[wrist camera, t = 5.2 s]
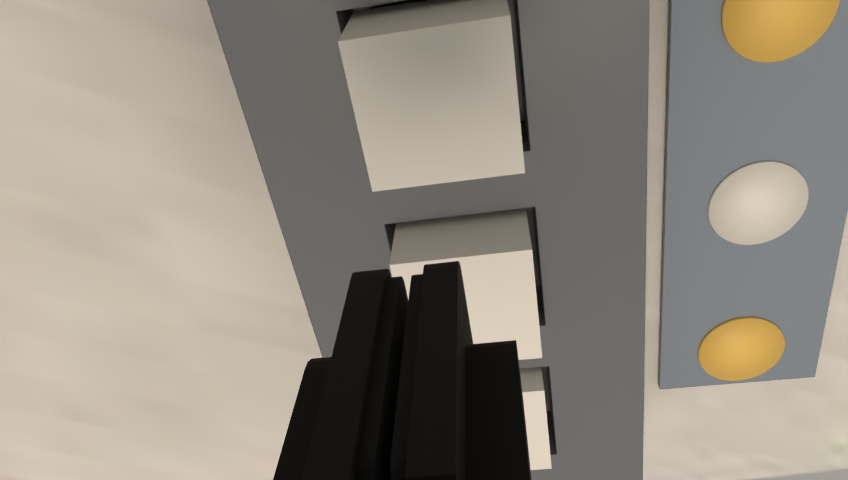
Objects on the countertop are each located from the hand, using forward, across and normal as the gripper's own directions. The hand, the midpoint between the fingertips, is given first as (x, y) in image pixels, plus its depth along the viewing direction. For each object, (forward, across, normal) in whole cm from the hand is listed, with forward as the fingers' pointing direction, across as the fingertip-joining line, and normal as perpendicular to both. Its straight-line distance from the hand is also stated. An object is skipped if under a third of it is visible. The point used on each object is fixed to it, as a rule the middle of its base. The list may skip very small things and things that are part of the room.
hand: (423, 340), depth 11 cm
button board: (+14, 0, +6) cm, 15 cm away
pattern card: (+14, -10, +6) cm, 19 cm away
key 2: (+12, 0, 0) cm, 12 cm away
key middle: (+12, 0, +7) cm, 14 cm away
